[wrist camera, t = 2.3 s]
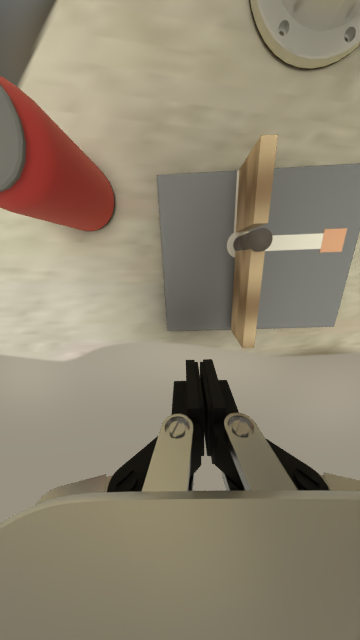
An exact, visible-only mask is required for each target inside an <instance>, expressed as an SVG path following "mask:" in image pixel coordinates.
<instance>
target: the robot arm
mask: <svg viewBox="0 0 360 640" xmlns="http://www.w3.org/2000/svg"><path fill="white" fill-rule="evenodd" d="M250 1H251V8H252V12H253V15H254V18H255V22H256V25H257V28H258V30H259V32H260V34H261V36H262V38H263V40H264V41H265V43H266V44H267V46H268V47H269V48H270V49H271V50H272V52H273V53H274V54H275V55H276V56H278V57H279V58H280V59H282V60H283V61H284V62H286V63H288V64H291V65H293V66H296V67H300V68H310V69H311V68H317V67H323V66H327V65H329V64H331V63H334V62H336V61H339V60H340V59H342V58H343V57H345V56H346V55H348V54H349V53H351V52H352V51H354V50H355V49H356V48H357V47H358V46H359V45H360V0H250ZM204 434H205V441H206V449H207V456H211V458H212V464H215V465H216V466H217V467H218V468H219V469H220V470H221V471H222V477H223V480H224V484H225V487H226V490H227V491H193V485H194V472H195V471H196V470H197V469H198V468H199V467H200V465H201V456H204ZM0 640H360V480H355V479H351V478H346V477H342V476H337V475H333V474H329V473H323V475H319V474H318V473H317V472H316V471H315V470H313V469H312V468H311V467H309V466H308V465H306V464H304V463H303V462H301V461H300V460H298V459H296V458H295V457H294V456H292V455H290V454H289V453H287V452H286V451H284V450H283V449H281V448H279V447H278V446H276V445H275V444H273V443H272V442H270V441H269V440H267V439H265V437H264V436H263V434H262V432H261V431H260V429H259V428H258V426H257V424H256V423H255V422H254V420H252V419H251V418H250V417H249V416H247V415H245V414H242V413H239V412H238V409H237V406H236V404H235V401H234V398H233V396H232V393H231V390H230V388H229V385H228V382H227V380H218V378H217V375H216V371H215V368H214V365H213V361H212V360H211V359H209V360H203V362H200V375H199V368H198V362H194V360H186V381H174V391H173V404H172V415H171V416H169V417H167V418H166V419H165V420H164V421H163V423H162V426H161V429H160V432H159V436H157V437H156V438H155V439H154V440H153V441H152V442H150V443H149V444H148V445H147V446H146V447H145V448H144V449H142V450H141V451H140V452H138V453H137V454H136V455H135V456H134V457H133V458H131V459H130V460H129V461H128V462H126V463H125V464H124V465H123V466H122V467H120V468H119V469H118V470H117V471H116V472H115V473H114V475H113V476H109V477H107V476H106V474H105V475H101V476H98V477H94V478H90V479H86V480H83V481H79V482H76V483H71V484H68V485H64V486H60V487H57V488H55V489H53V490H50V491H49V492H48V493H46V494H45V495H44V496H42V497H41V499H40V500H39V501H38V502H37V503H36V504H35V505H34V506H32V507H29V508H27V509H25V510H23V511H21V512H19V513H17V514H15V515H13V516H12V517H10V518H8V519H6V520H5V521H3V522H2V523H0Z"/></svg>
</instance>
